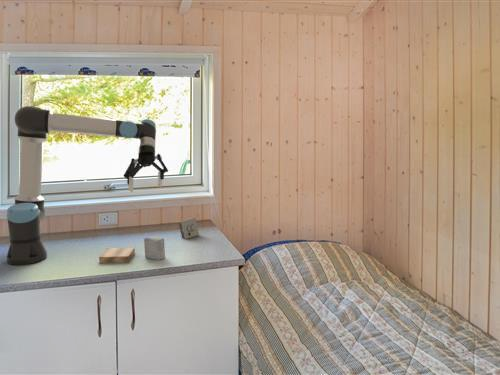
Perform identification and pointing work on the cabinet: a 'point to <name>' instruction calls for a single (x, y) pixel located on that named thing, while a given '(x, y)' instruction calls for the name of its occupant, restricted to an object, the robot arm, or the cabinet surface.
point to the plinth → (116, 255)
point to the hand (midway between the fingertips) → (145, 188)
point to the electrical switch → (189, 228)
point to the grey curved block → (154, 248)
